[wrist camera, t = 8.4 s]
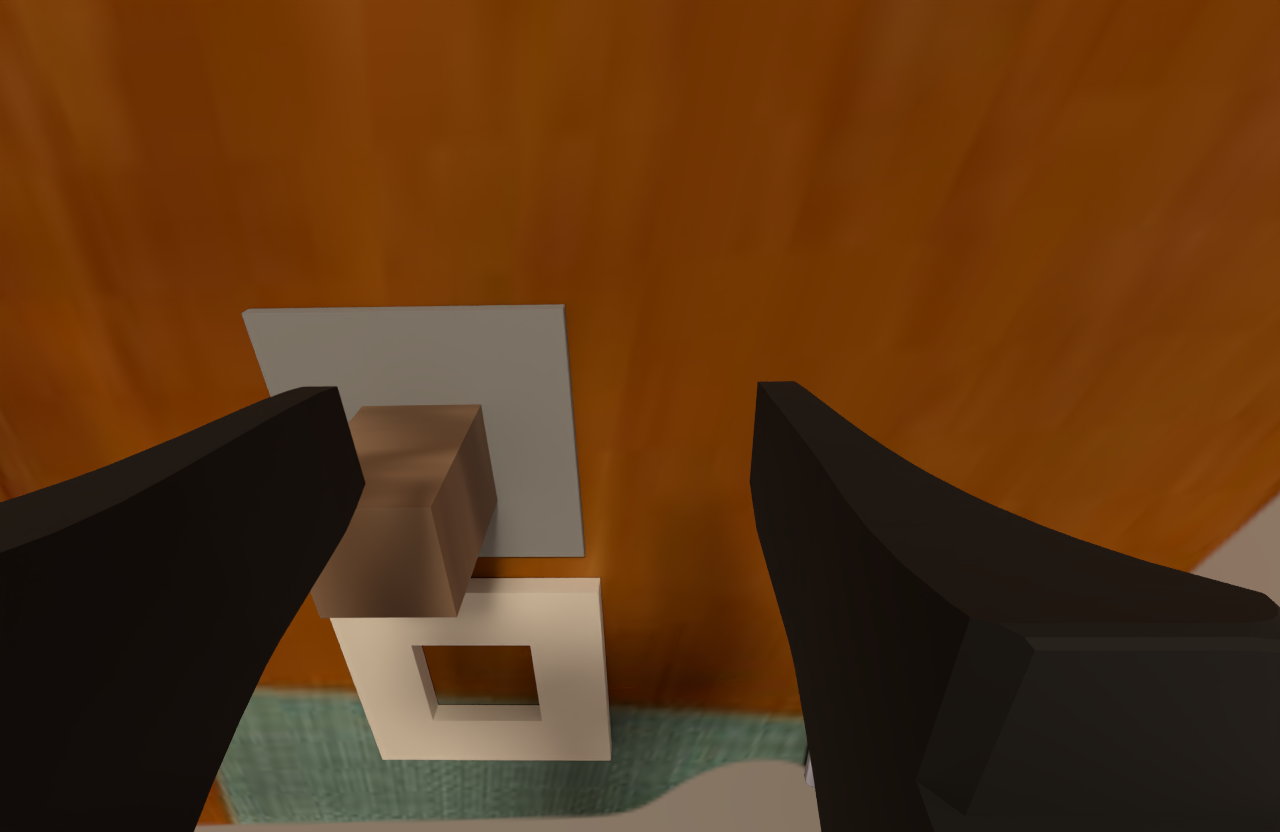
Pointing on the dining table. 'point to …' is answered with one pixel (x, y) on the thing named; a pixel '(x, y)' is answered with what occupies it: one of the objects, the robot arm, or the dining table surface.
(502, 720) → the pocket plate
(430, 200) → the dining table surface
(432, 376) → the mat
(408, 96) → the dining table surface
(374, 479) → the block
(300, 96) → the dining table surface
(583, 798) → the dining table surface
